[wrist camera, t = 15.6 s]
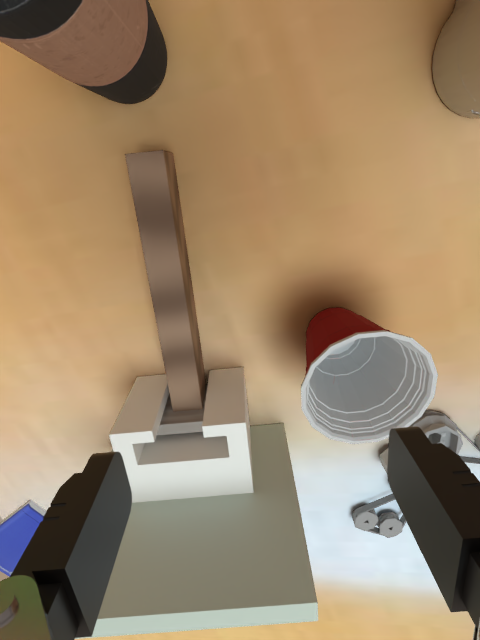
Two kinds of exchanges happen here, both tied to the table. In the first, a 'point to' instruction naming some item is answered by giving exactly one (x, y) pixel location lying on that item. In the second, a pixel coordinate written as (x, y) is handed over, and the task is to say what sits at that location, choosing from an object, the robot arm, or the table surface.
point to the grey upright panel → (206, 520)
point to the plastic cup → (363, 378)
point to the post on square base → (170, 287)
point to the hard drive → (18, 534)
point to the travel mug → (91, 43)
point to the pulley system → (364, 517)
